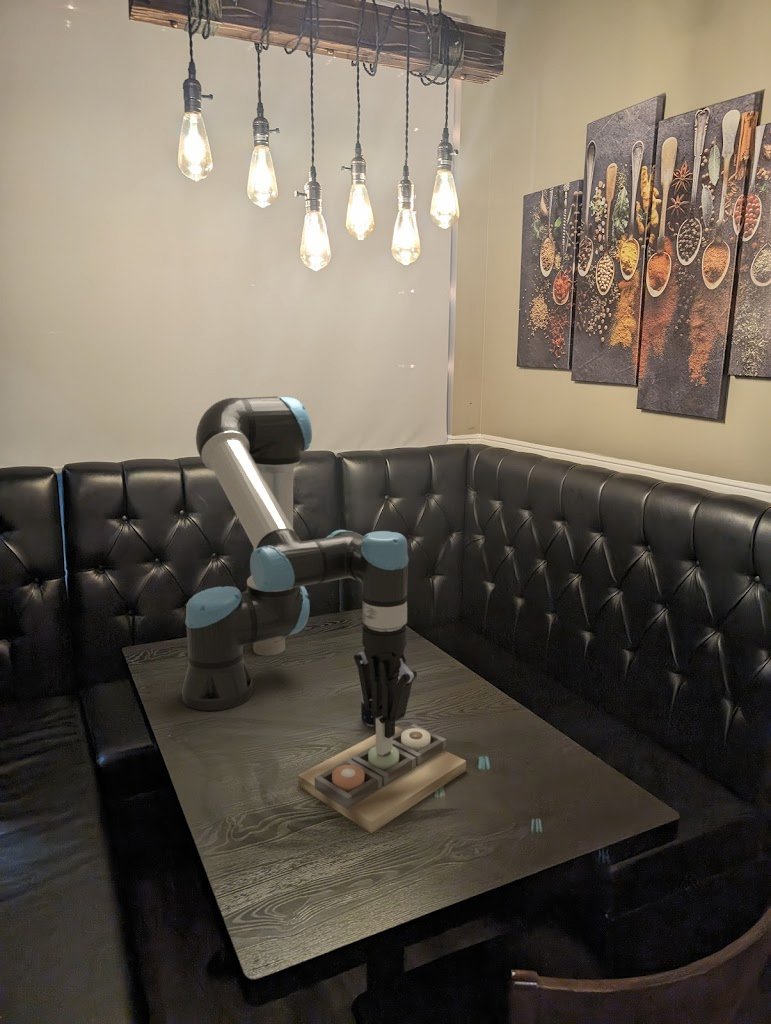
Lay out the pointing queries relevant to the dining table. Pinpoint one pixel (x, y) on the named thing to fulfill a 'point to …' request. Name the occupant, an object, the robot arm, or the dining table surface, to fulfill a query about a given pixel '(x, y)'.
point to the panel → (384, 780)
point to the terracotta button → (348, 777)
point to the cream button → (415, 739)
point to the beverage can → (366, 714)
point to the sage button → (383, 758)
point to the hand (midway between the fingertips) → (384, 751)
